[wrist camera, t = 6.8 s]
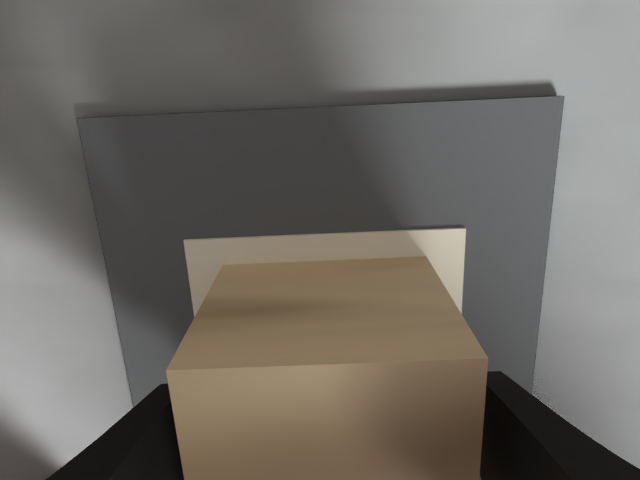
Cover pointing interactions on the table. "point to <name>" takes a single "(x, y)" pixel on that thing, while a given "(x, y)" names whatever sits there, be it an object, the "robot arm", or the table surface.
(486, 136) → the gray rectangular panel
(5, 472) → the table surface
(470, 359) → the oak block
